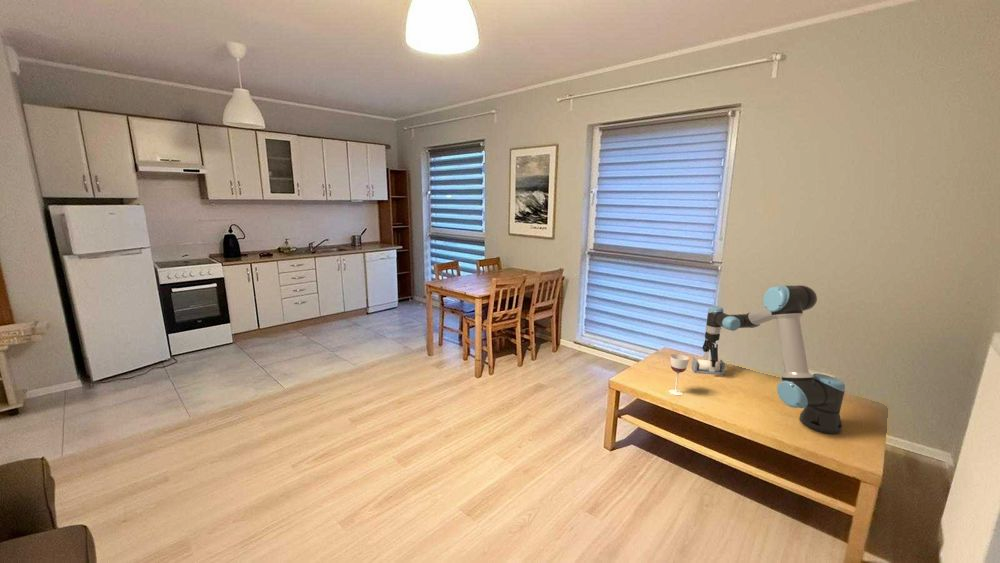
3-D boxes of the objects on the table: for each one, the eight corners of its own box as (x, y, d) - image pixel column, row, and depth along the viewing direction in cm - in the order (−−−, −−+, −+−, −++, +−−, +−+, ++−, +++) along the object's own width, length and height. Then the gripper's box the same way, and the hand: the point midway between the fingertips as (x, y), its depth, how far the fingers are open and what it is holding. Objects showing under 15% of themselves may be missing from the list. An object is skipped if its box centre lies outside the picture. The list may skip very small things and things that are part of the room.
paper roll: (716, 370, 235) (716, 360, 236) (720, 371, 230) (720, 361, 230) (696, 369, 237) (696, 358, 238) (699, 369, 232) (699, 359, 232)
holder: (723, 375, 230) (725, 364, 229) (694, 372, 233) (695, 361, 232) (720, 370, 236) (721, 359, 235) (691, 368, 239) (692, 357, 238)
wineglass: (687, 396, 204) (691, 360, 200) (670, 396, 205) (674, 359, 200) (680, 389, 212) (684, 354, 208) (664, 388, 212) (668, 353, 208)
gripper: (727, 340, 217) (722, 376, 221) (712, 326, 241) (708, 359, 245) (712, 339, 218) (708, 374, 223) (699, 325, 242) (695, 358, 247)
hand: (708, 366), depth 234 cm, fingers open, 13 cm apart
